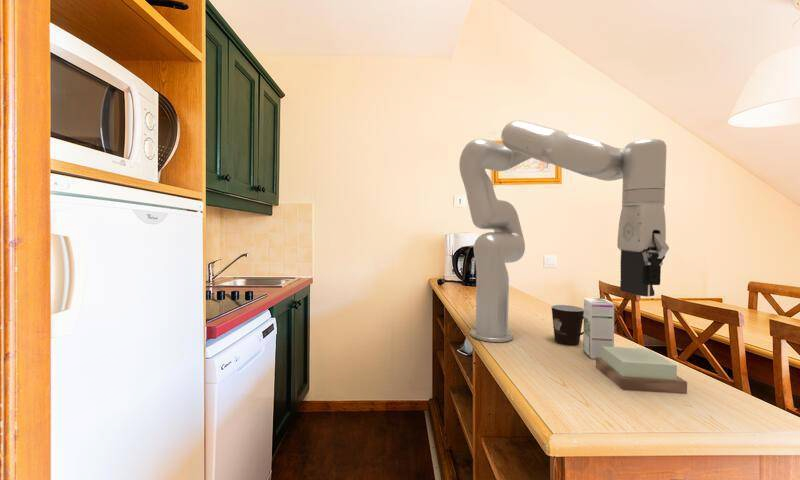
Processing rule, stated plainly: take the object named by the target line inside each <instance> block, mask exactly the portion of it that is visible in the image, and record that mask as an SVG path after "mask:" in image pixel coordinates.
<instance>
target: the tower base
mask: <svg viewBox="0 0 800 480" xmlns="http://www.w3.org/2000/svg"><path fill="white" fill-rule="evenodd" d="M595 368H596V370H598V371H600V372H601V374H603V375H604V376H605V377H607V378H608V379H609V380H610V381H611V382H613V383H614V384H615V385H616V386H617V387H619V388H620V389H621V390H622V391H629V392H630V391H631V392H633V391H634V392H648V393H664V394H665V393H667V394H684V395H685V394H688V381H686V380H684V379H683V378H682V377H679V376H678V375H677V378H676V380H666V379H651V378H637V377H623V376H621V375H620V374H619V373H618V372H617V371H615V370H614V369H613V368H612V367H611V366H609V365H608V364H607V363H606V362H605V361H603V360H602V358H601V357H596V359H595Z"/></svg>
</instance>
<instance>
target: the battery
mask: <svg viewBox="0 0 800 480" xmlns="http://www.w3.org/2000/svg"><path fill="white" fill-rule="evenodd" d="M647 250H654V249H653V248H651V247H648V249H647ZM649 256H650V257H651V256H652V254H649ZM643 265H645V262H644V258H643V254H642V252H631V251H624V250H620V281H619V283H620V286H619V290H620V292H622V293H626V294H631V295H635V296H638V297H639V296H640V297H654V296H655V295H656V294H655V289H654V287H653V286H654V285H644V284H642V268H643Z"/></svg>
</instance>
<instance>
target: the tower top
mask: <svg viewBox="0 0 800 480" xmlns="http://www.w3.org/2000/svg"><path fill="white" fill-rule="evenodd" d="M602 360H603V361H605V362H606V363H607V364H608V365H609V366H611V367H612V368H613V369H614V370H615V371H617V372H618V373H619V374H620V375H621V376H623V377H637V378H651V379H666V380H676V378H677V376H678V375H677V374H678V373H677V372H678V365H677V364H675V363H674V362H672V361H670V360H669V359H666V358H665V357H663V356H661V355H659V354H658V353H656V352H655V351H653V350H651V348H641V347H640V348H639V347H637V348H636V347H622V346H621V347H620V346H614V347H607V346H602Z"/></svg>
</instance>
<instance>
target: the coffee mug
mask: <svg viewBox="0 0 800 480" xmlns="http://www.w3.org/2000/svg"><path fill="white" fill-rule="evenodd" d="M551 314H552V315H551V316H552V317H551V319H552V324H553V336H554V342H555V343H557V344H559V345H564V346H570V347H571V346H572V347H573V346H575V347H576V346H579V345H580V340H581V336H583V333H584V331H582V329H583V323H584V307H580V306H576V305H569V304H568V305H567V304H555V305H554V304H553V305H551Z"/></svg>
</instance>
